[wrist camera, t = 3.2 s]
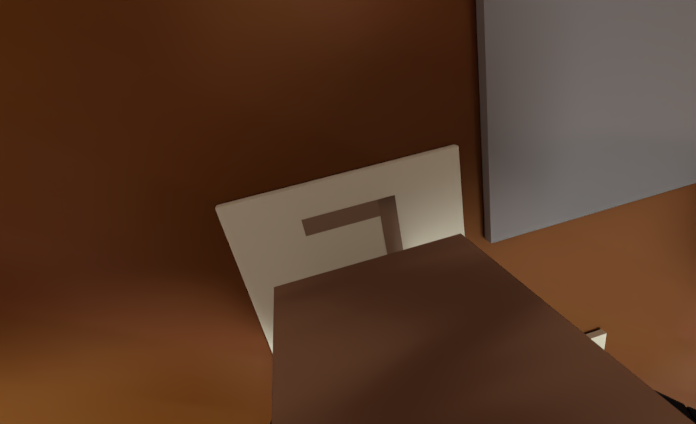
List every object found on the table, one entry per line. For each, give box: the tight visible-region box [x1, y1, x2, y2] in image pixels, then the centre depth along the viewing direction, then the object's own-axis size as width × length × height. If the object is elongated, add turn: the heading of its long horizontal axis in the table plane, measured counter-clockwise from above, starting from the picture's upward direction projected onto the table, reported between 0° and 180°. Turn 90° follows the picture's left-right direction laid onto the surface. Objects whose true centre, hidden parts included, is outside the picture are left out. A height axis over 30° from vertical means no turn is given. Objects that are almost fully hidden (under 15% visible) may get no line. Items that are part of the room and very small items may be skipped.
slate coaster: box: [476, 0, 696, 243], centre depth 11 cm, size 10×10×1 cm
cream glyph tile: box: [215, 144, 465, 354], centre depth 12 cm, size 8×8×1 cm
